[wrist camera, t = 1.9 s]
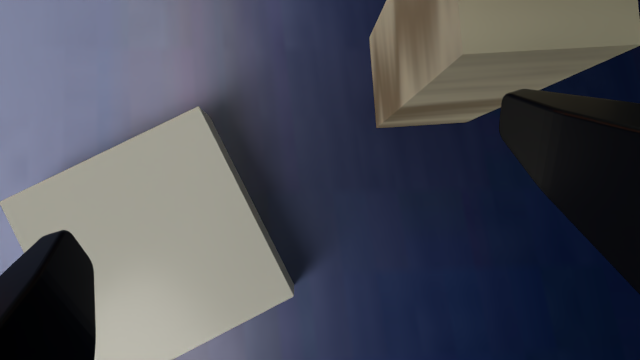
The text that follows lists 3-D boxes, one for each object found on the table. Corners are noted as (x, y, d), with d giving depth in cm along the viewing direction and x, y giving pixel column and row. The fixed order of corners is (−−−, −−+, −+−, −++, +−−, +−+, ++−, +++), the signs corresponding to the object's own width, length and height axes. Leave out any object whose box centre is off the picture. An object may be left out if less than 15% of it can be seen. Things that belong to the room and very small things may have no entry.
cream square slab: (294, 283, 23) (293, 296, 20) (123, 372, 22) (96, 399, 19) (211, 118, 23) (198, 106, 20) (38, 201, 23) (-1, 202, 20)
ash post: (466, 122, 24) (642, 44, 12) (376, 128, 23) (462, 54, 11) (458, 32, 24) (623, -135, 12) (369, 37, 24) (446, -129, 12)
